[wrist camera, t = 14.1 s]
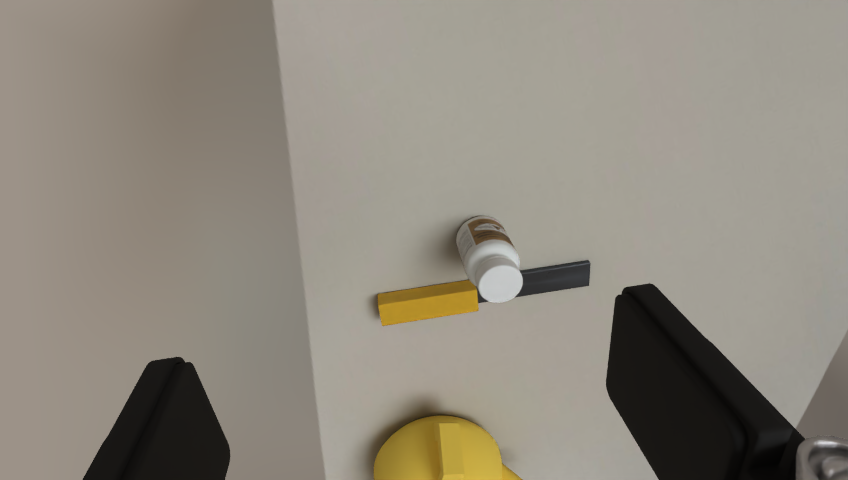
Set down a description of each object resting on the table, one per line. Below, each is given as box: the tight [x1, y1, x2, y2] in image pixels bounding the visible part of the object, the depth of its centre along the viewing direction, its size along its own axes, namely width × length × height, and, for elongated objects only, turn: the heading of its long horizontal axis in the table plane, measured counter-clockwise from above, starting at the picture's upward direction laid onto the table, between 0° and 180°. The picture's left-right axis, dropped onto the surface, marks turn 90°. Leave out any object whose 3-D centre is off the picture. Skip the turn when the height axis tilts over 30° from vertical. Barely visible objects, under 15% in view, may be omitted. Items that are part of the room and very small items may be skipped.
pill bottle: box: [456, 216, 523, 303], centre depth 40 cm, size 4×4×8 cm
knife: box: [378, 261, 590, 326], centre depth 45 cm, size 20×3×2 cm, turn 97°
